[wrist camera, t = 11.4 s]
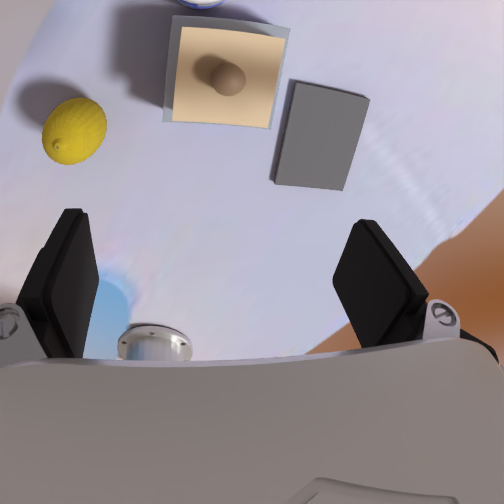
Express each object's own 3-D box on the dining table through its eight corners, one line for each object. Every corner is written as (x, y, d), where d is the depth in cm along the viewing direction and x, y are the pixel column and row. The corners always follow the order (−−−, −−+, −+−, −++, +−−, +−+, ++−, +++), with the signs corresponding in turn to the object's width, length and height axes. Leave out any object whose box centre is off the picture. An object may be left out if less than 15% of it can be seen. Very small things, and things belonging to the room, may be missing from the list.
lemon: (64, 89, 23) (26, 112, 17) (118, 90, 24) (92, 113, 18) (63, 142, 26) (30, 178, 20) (113, 144, 27) (90, 182, 21)
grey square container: (261, 116, 28) (270, 129, 25) (166, 110, 26) (162, 122, 23) (278, 28, 23) (290, 28, 20) (176, 17, 21) (172, 15, 18)
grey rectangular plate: (340, 188, 35) (342, 190, 34) (273, 181, 33) (275, 184, 33) (367, 98, 28) (370, 99, 28) (294, 81, 26) (296, 82, 26)
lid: (260, 117, 24) (271, 134, 21) (174, 110, 23) (170, 126, 20) (275, 37, 20) (291, 39, 17) (184, 27, 19) (181, 26, 15)
